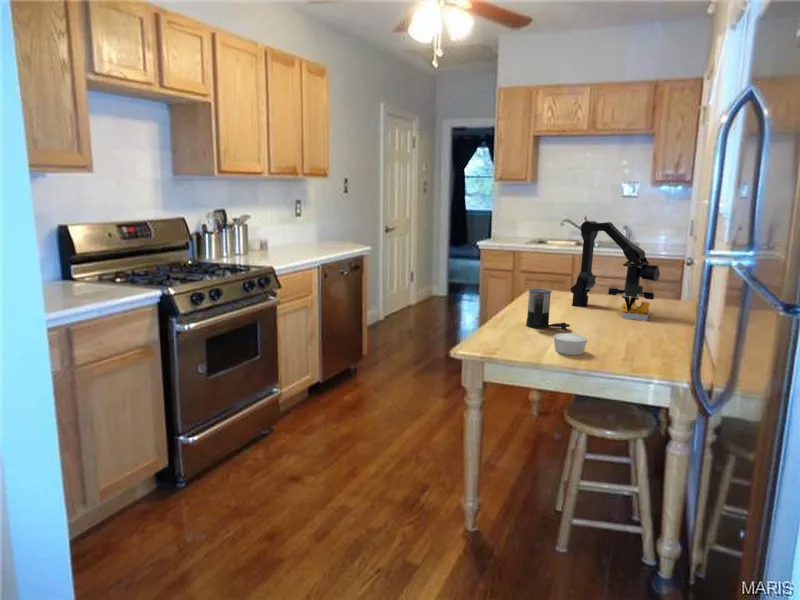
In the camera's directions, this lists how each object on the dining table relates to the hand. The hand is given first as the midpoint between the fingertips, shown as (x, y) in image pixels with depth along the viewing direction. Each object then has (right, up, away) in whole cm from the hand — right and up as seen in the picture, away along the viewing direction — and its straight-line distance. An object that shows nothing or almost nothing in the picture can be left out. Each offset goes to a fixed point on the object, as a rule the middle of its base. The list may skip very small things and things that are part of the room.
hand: (628, 311), depth 264 cm
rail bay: (+2, -1, 0) cm, 3 cm away
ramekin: (-43, -13, -57) cm, 73 cm away
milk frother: (-42, -6, -25) cm, 50 cm away
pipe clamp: (+3, -1, +1) cm, 3 cm away
